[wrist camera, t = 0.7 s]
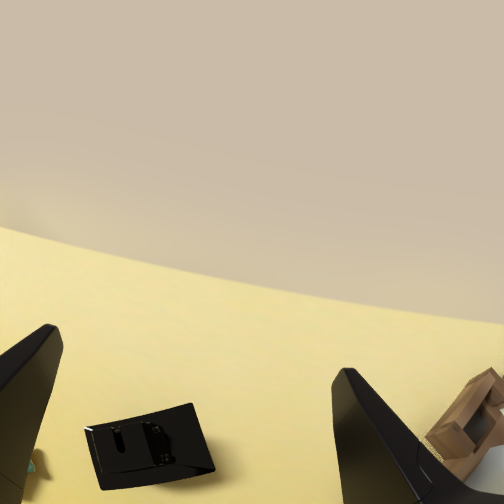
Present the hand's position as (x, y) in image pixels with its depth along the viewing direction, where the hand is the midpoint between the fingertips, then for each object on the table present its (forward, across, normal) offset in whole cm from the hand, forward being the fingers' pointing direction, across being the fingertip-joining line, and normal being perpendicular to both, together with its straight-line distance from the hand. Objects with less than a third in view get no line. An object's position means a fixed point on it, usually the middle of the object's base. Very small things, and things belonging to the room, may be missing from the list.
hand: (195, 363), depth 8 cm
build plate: (+2, +3, +15) cm, 16 cm away
